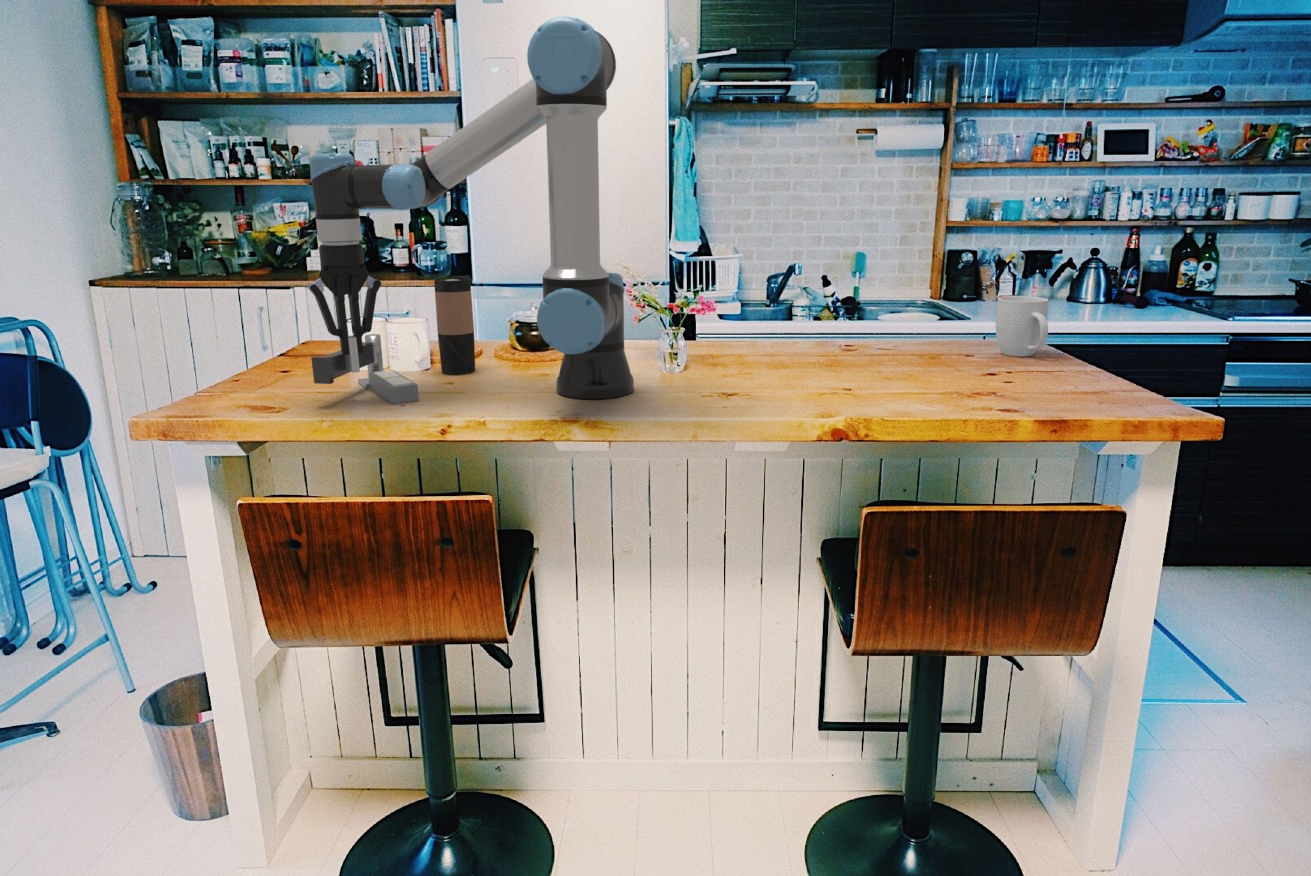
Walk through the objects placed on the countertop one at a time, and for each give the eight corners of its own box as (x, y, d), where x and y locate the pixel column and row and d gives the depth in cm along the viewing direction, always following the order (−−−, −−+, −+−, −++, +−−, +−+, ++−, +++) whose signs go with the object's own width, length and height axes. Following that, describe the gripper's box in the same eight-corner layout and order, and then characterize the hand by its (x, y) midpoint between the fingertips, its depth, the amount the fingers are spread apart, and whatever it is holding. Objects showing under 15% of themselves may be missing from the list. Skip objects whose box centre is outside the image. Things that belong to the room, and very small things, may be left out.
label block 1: (370, 389, 177) (368, 372, 176) (395, 386, 180) (393, 369, 179) (381, 397, 171) (380, 379, 170) (407, 393, 173) (405, 376, 172)
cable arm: (362, 363, 178) (360, 340, 177) (377, 364, 178) (375, 340, 177) (314, 383, 161) (311, 357, 160) (330, 384, 161) (327, 357, 160)
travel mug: (468, 376, 189) (461, 281, 183) (434, 374, 190) (427, 280, 184) (481, 368, 196) (476, 277, 190) (449, 367, 197) (443, 276, 192)
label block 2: (380, 396, 171) (378, 378, 170) (405, 392, 174) (404, 375, 173) (392, 404, 165) (390, 386, 164) (418, 401, 167) (417, 382, 166)
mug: (1063, 361, 201) (1070, 303, 197) (1020, 363, 198) (1027, 304, 195) (1023, 349, 215) (1029, 294, 211) (982, 351, 212) (988, 296, 209)
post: (358, 383, 182) (353, 334, 180) (387, 379, 186) (383, 332, 183) (366, 388, 178) (361, 339, 175) (396, 384, 181) (391, 336, 178)
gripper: (371, 240, 166) (383, 363, 173) (298, 243, 160) (314, 371, 167) (382, 242, 160) (394, 370, 167) (307, 246, 154) (323, 379, 161)
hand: (354, 370), depth 167 cm, fingers closed
